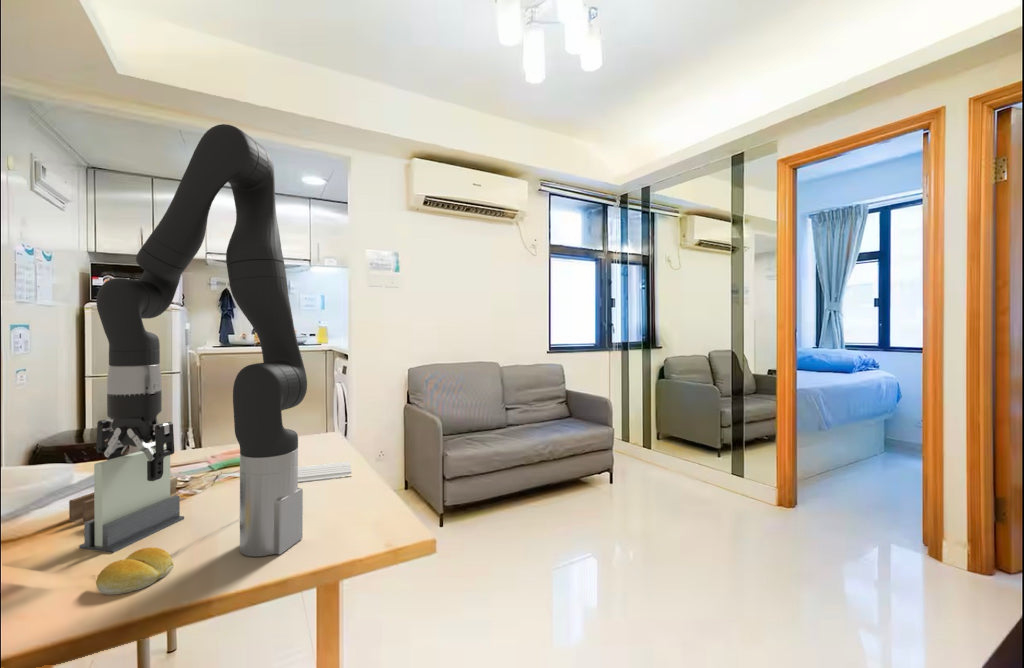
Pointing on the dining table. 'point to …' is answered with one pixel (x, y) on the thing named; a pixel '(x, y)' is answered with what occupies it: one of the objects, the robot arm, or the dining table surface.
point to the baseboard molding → (317, 472)
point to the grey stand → (133, 526)
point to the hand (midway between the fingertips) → (135, 477)
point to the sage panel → (126, 488)
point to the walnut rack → (84, 508)
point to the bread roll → (134, 571)
